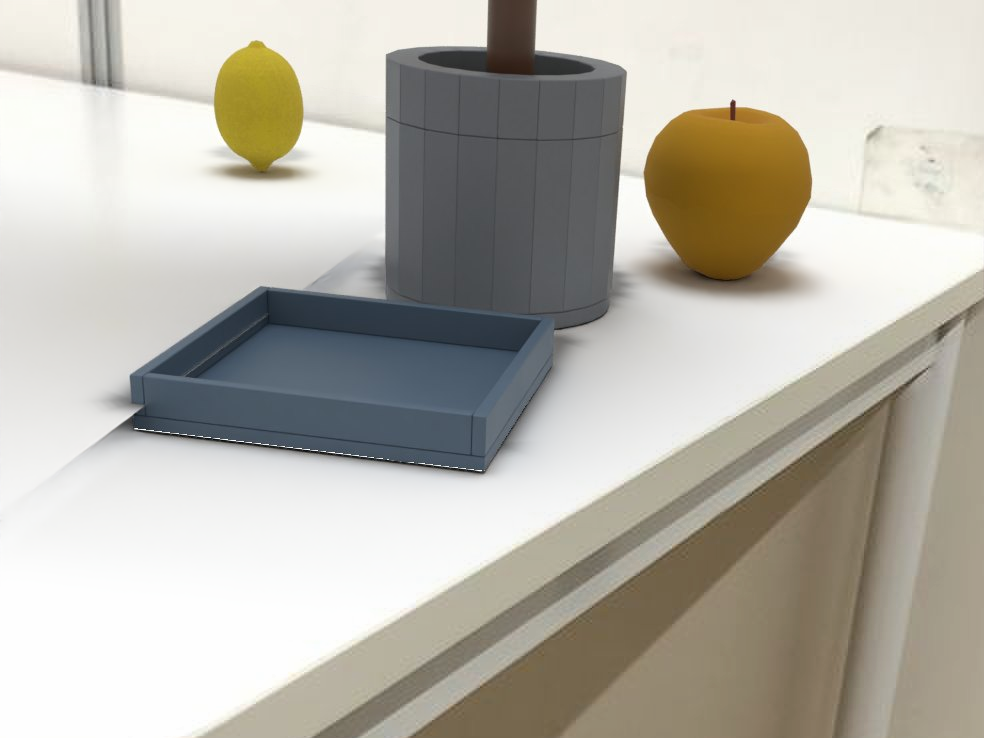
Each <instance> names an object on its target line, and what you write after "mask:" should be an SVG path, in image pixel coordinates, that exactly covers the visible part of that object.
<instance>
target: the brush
mask: <svg viewBox="0 0 984 738" xmlns="http://www.w3.org/2000/svg"><path fill="white" fill-rule="evenodd" d="M537 11H538V0H487V19H486V20H487V21H486V23H487V25H486V27H487V28H486V47H487V58H486V72H488V73H498V74H516V75H534V66H535V50H536V42H537V41H536V37H537Z"/></svg>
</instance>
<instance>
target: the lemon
mask: <svg viewBox="0 0 984 738" xmlns="http://www.w3.org/2000/svg"><path fill="white" fill-rule="evenodd" d="M213 112H214V117H215V123H216V126H217V130H218V132H219V134H220V136H221V138H222V140H223V141H224V143H225V144H226V146H227V147H228V148H229V149H230V151H232V152H233V153H234V154H236V155H237V156H239V157H241V158H243V159H244V160H246V161H248V163H250V165H251V166H252V167H253V168H254V170H256V171H259V172H264V171H267V170H268V169H269V168H270V167H271V165H272V164H273V163H274V162H276V161H277V160H279V159H281V158H284V157H285V156H287V155H288V154H289V153H290V152H291V151H292V149H293V148H294V147H295V146H296V144H297V142H298V141H299V139H300V135H301V133H302V129H303V124H304V101H303V93H302V90H301V86H300V82H299V79H298V76H297V74H296V72H295V69H294V68H293V67H292V65H291V64H290V63H289V62H288V60H287V59H286V58H285V57H284V56H283V55H281V54H280V53H279V52H278V51H275V50H273V49H271V48H269V47H267V46H266V44H265V43H264V42H263V41H262V40H257V39H256V40H251V41H250V42H249V43H248V45H247V46H245V47H242V48H240V49H238V50H236V51H235V52H233V53H232V54H230V56H228V58H226V60H225V61H224V62H223V63H222V65H221V67H220V68H219V72H218V74H217V77H216V82H215V87H214V94H213Z"/></svg>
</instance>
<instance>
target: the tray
mask: <svg viewBox="0 0 984 738" xmlns="http://www.w3.org/2000/svg"><path fill="white" fill-rule="evenodd" d="M554 325H555V319H554V318H548V317H544V318H543V317H539V316H530V315H521V314H512V313H502V312H493V311H484V310H475V309H466V308H457V307H448V306H439V305H430V304H420V303H411V302H402V301H393V300H388V299H385V298H384V299H382V298H374V297H365V296H364V297H363V296H357V295H355V296H354V295H346V294H337V293H327V292H319V291H311V290H301V289H291V288H282V287H273V286H263V285H260V286H258V287H257V288H255V289H254V290H252V291H251V292H250V293H248V294H247V295H245V296H244V297H242V298H241V299H239V300H237V301H236V302H235V303H233V304H232V305H230V306H229V307H227V308H226V309H225V310H223V311H221V312H220V313H218V314H217V315H215V316H214V317H212V318H211V319H210V320H208V321H207V322H205V323H204V324H202V325H201V326H199V327H198V328H196V329H195V330H193V331H192V332H190V333H189V334H187V335H186V336H185V337H183V338H182V339H180V340H179V341H177V342H176V343H174V344H172V346H170V347H168V348H167V349H165V350H164V351H163V352H161V353H160V354H158V355H157V356H155V357H154V358H152V359H151V360H149V361H148V362H147V363H145V364H143V365H142V366H141V367H139V368H138V369H136V370H135V371H133V372H132V373H130V374H129V386H130V387H129V388H130V398H131V400H130V401H131V404H137V405H144V406H142V407H141V408H140V409H138V410H137V411H136V412H134V413H133V415H132V424H133V429H134V428H138V429H146V430H154V431H162V432H170V433H179V434H187V435H195V436H203V437H211V438H220V439H228V440H236V441H244V442H252V443H261V444H269V445H277V446H285V447H293V448H302V449H310V450H318V451H326V452H335V453H343V454H351V455H359V456H367V457H374V458H383V459H384V460H383V461H385V460H387V459H389V460H394V461H401V462H400V463H402V462H414V463H417V464H416V465H418V463H425V464H433V465H441V466H449V467H458V468H466V469H474V470H482V471H484V470H485V469H486V468H488V467H489V465H490V464H491V462H492V461H493V459H494V458H495V456H496V454H497V453H498V451H499V450H498V449H500V448H501V447H502V445H503V443H504V442H505V440H506V439H507V437H508V435H509V434H510V432H511V431H512V429H513V428H514V426H515V424H516V423H517V421H518V420H519V418H520V417H519V416H521V415H522V413H523V412H524V410H525V409H526V407H527V406H528V404H529V402H530V401H531V399H532V398H533V396H534V395H533V394H535V393H536V391H537V390H538V388H539V387H540V386H541V383H542V382H543V380H544V379H545V378H546V376H547V374H548V373H549V372H550V370H551V368H552V366H553V363H554V361H553V360H554V359H553V358H554V345H555V344H554V343H555V329H554ZM531 397H532V398H531ZM529 400H530V401H529ZM526 405H527V406H526ZM525 406H526V407H525ZM524 408H525V409H524ZM523 409H524V410H523ZM522 411H523V412H522ZM520 414H521V415H520ZM518 417H519V418H518ZM517 419H518V420H517ZM516 420H517V421H516ZM515 422H516V423H515ZM513 425H514V426H513ZM512 427H513V428H512ZM511 428H512V429H511ZM510 430H511V431H510ZM509 431H510V432H509ZM508 433H509V434H508ZM506 436H507V437H506ZM505 438H506V439H505ZM504 439H505V440H504ZM503 441H504V442H503ZM502 442H503V443H502ZM501 444H502V445H501ZM499 447H500V448H499ZM497 450H498V451H497ZM496 452H497V453H496ZM495 453H496V454H495ZM494 455H495V456H494ZM492 458H493V459H492ZM491 460H492V461H491ZM490 461H491V462H490ZM489 463H490V464H489ZM488 464H489V465H488ZM487 466H488V467H487ZM486 470H487V469H486ZM486 470H485V471H486Z"/></svg>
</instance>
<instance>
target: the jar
mask: <svg viewBox="0 0 984 738" xmlns="http://www.w3.org/2000/svg"><path fill="white" fill-rule="evenodd" d="M486 58H487V46H474V45H473V46H467V45H466V46H464V45H462V46H460V45H459V46H457V45H437V46H436V45H435V46H418V47H408V48H401V49H397V50H393V51H391V52H388V53H386V54H385V125H384V126H385V135H384V136H385V137H384V138H385V139H384V140H385V141H384V142H385V145H384V146H385V147H384V148H385V151H384V154H385V155H384V158H385V159H384V160H385V163H384V164H385V165H384V166H385V167H384V169H385V171H384V173H385V175H384V176H385V177H384V181H385V185H384V186H385V187H384V188H385V189H384V191H385V192H384V193H385V195H384V197H385V198H384V203H385V204H384V251H385V252H384V276H385V277H384V278H385V297H386V300H393V301H402V302H411V303H420V304H430V305H439V306H448V307H457V308H466V309H475V310H484V311H493V312H502V313H512V314H521V315H530V316H539V317H543V318H544V317H548V318H554V319H555V325H554V330H556V329H564V328H569V327H570V328H571V327H574V326H579V325H583V324H587V323H590V322H592V321H594V320H597V319H600V318H601V317H602V316H604V315H605V314H606V313H607V311H608V310H609V308H610V303H611V291H612V289H613V277H614V262H615V249H616V248H615V247H616V246H615V245H616V234H617V219H618V207H619V206H618V205H619V192H620V180H621V179H620V177H621V165H622V164H621V163H622V150H623V148H622V147H623V137H624V136H623V134H624V121H625V120H624V119H625V106H626V105H625V104H626V93H627V92H626V91H627V79H628V78H627V77H628V71H627V70H626V69H625V68H624V67H622V66H621V65H619V64H616V63H614V62H610V61H607V60H603V59H599V58H594V57H588V56H583V55H577V54H569V53H563V52H562V53H561V52H553V51H547V50H536V49H535V66H534V75H516V74H498V73H488V72H486Z"/></svg>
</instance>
